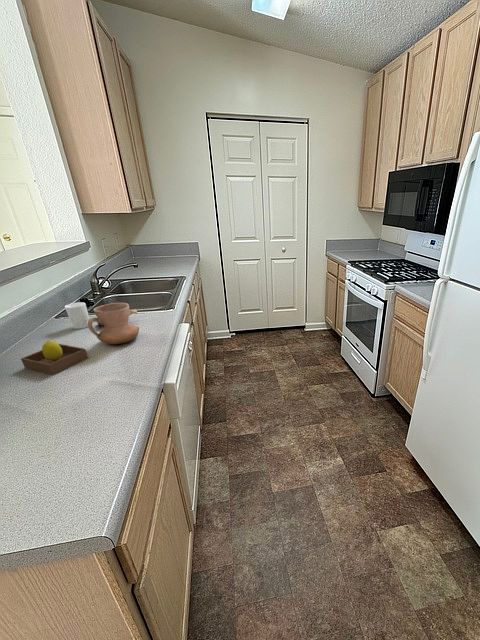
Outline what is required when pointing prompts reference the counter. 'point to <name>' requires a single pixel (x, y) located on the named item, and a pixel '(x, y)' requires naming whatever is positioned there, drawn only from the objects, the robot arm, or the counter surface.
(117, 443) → the counter surface
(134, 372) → the counter surface
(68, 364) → the tray
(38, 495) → the counter surface
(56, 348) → the lemon
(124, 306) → the ceramic jug
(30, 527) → the counter surface
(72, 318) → the white cup
